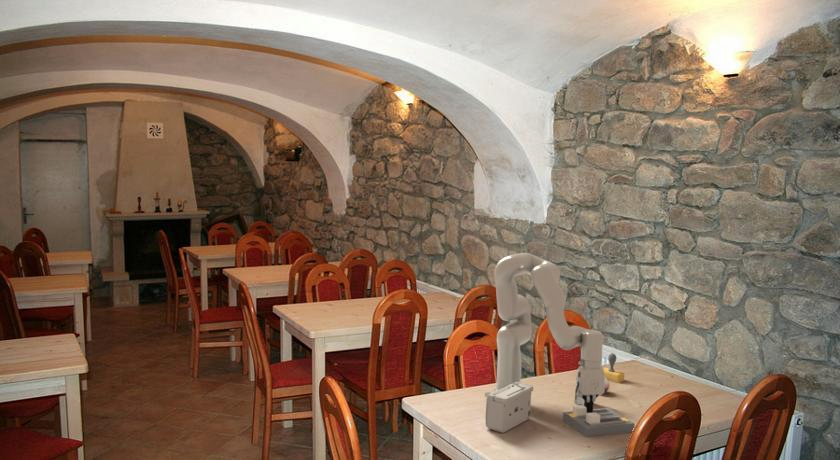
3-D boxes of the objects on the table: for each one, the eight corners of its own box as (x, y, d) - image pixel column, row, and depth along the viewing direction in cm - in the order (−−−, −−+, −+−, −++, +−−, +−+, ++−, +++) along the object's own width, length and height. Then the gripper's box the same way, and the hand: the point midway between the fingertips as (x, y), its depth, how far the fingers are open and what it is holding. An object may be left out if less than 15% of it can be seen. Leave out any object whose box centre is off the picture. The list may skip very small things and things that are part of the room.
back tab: (576, 416, 243) (577, 408, 243) (572, 413, 246) (573, 405, 246) (586, 415, 244) (586, 407, 244) (581, 412, 247) (582, 404, 247)
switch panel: (586, 436, 233) (586, 426, 232) (563, 419, 248) (563, 410, 247) (634, 431, 239) (634, 421, 239) (608, 415, 254) (609, 406, 254)
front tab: (590, 424, 236) (590, 416, 235) (585, 421, 239) (586, 413, 238) (599, 423, 237) (600, 415, 237) (595, 420, 240) (595, 412, 240)
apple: (607, 390, 284) (608, 374, 283) (610, 396, 276) (612, 379, 276) (588, 388, 285) (589, 372, 284) (591, 394, 277) (592, 378, 276)
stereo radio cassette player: (514, 413, 253) (516, 363, 251) (533, 419, 247) (535, 367, 245) (483, 429, 236) (486, 375, 234) (503, 435, 231) (506, 380, 229)
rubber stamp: (598, 377, 301) (599, 352, 300) (604, 375, 305) (606, 349, 304) (617, 383, 294) (619, 357, 293) (624, 380, 298) (626, 354, 297)
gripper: (579, 367, 239) (576, 416, 240) (614, 365, 244) (611, 412, 245) (568, 362, 246) (565, 409, 247) (602, 359, 251) (599, 406, 252)
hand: (588, 411), depth 246 cm, fingers closed
